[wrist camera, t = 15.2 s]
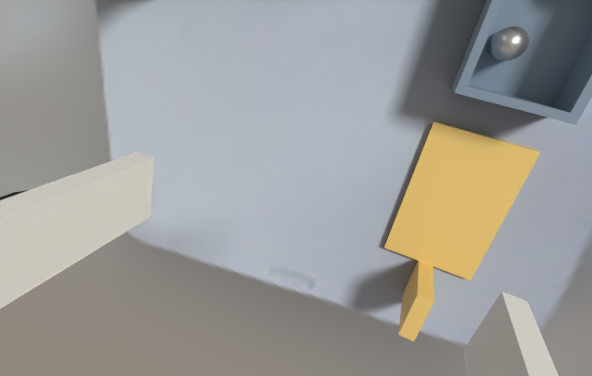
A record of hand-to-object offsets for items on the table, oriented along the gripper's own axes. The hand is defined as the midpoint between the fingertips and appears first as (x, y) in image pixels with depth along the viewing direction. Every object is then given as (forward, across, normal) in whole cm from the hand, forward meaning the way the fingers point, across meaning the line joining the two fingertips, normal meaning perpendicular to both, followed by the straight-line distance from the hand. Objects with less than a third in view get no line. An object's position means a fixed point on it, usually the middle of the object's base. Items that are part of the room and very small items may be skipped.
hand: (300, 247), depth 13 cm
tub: (+31, +11, +12) cm, 35 cm away
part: (+30, +9, +10) cm, 33 cm away
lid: (+31, +11, -11) cm, 34 cm away
